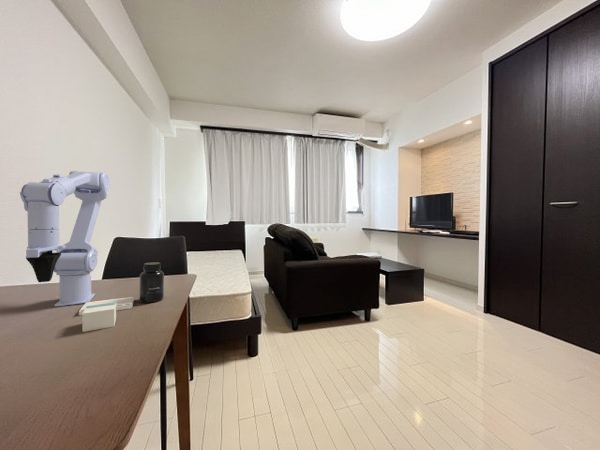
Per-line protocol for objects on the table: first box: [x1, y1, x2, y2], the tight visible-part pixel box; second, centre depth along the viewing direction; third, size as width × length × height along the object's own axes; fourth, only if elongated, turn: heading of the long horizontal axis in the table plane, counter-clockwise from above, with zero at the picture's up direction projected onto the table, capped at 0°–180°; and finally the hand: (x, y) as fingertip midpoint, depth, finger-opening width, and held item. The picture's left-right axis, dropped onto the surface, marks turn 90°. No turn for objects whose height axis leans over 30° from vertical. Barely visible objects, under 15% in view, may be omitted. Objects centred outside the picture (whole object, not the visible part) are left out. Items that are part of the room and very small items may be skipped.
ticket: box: [78, 296, 135, 316], centre depth 75 cm, size 8×12×1 cm, turn 119°
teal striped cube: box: [81, 302, 117, 333], centre depth 63 cm, size 6×6×5 cm
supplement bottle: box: [138, 261, 165, 304], centre depth 82 cm, size 7×7×12 cm
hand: (44, 281), depth 66 cm, fingers closed
